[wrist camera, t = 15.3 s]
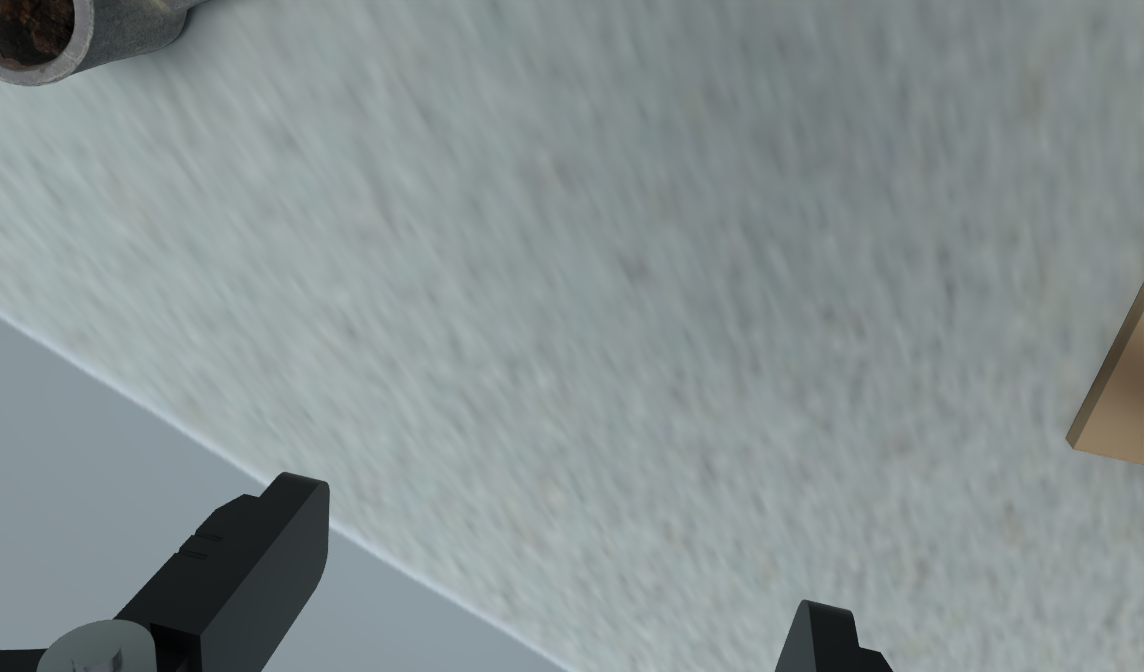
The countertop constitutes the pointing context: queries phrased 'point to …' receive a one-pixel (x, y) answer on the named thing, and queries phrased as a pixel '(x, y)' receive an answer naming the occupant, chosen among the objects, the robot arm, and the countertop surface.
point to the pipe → (81, 34)
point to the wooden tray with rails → (1116, 397)
